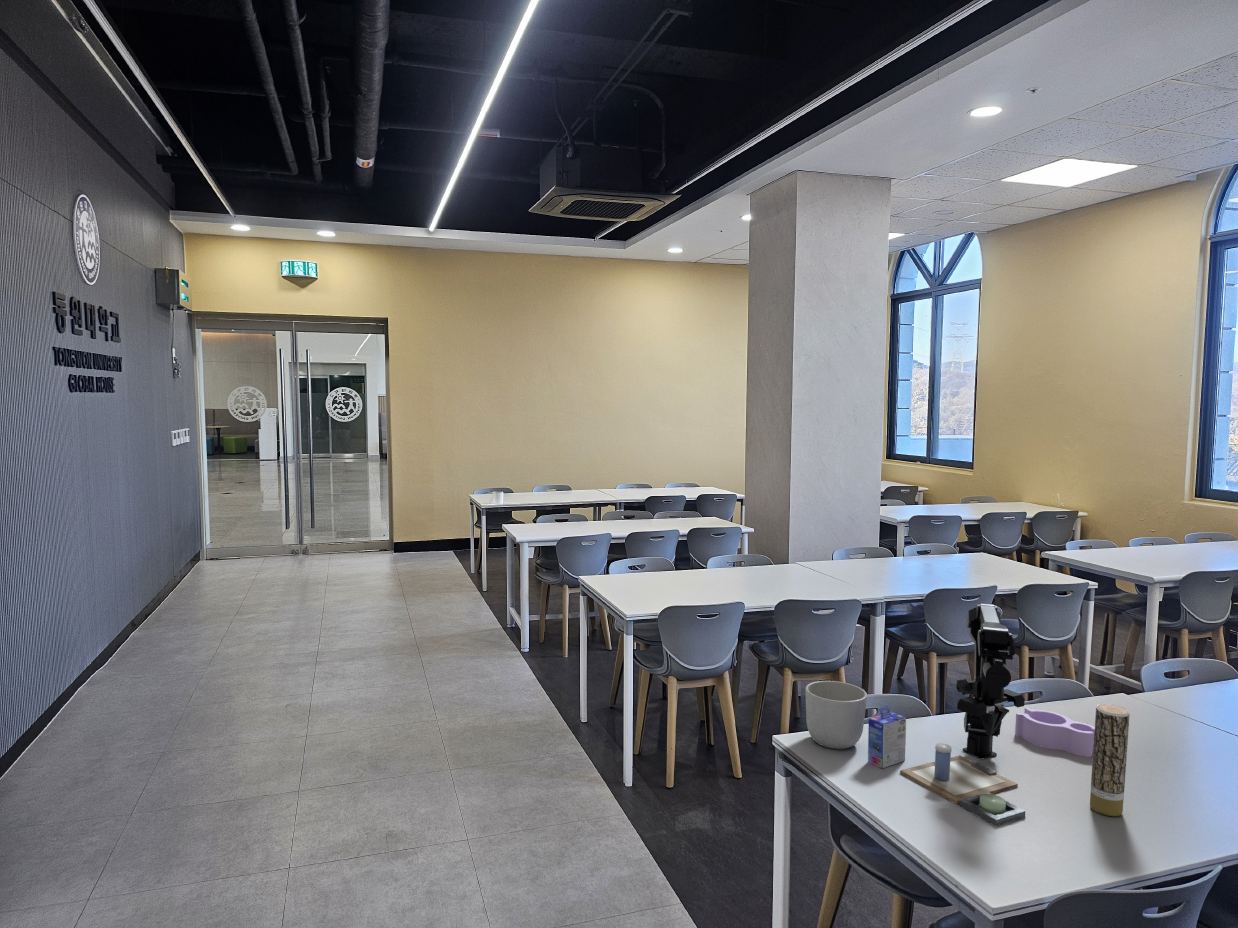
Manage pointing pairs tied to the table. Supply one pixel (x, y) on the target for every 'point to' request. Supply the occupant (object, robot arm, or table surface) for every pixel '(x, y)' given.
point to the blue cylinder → (942, 761)
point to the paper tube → (1109, 759)
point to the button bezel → (996, 820)
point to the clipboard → (960, 779)
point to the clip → (1055, 732)
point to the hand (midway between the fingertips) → (989, 734)
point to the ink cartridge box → (886, 738)
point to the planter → (835, 713)
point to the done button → (992, 804)
